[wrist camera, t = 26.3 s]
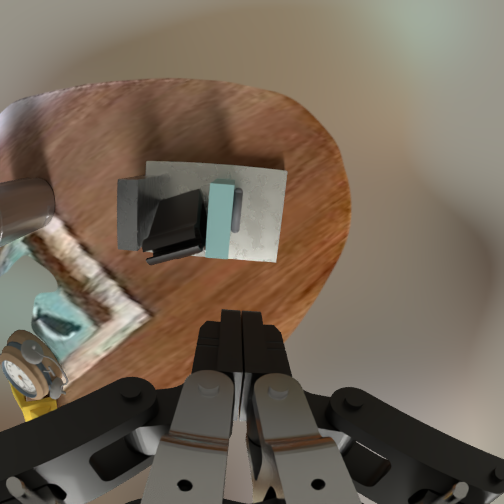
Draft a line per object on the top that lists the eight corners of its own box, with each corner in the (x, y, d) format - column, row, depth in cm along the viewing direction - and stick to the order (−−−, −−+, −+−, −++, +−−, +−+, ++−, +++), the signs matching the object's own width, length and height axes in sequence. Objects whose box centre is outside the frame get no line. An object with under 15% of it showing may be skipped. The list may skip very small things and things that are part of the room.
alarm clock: (-16, 349, 38) (33, 348, 37) (3, 331, 46) (55, 324, 46) (20, 403, 43) (76, 411, 42) (34, 382, 52) (90, 384, 51)
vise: (274, 257, 44) (287, 291, 32) (147, 247, 42) (119, 277, 31) (284, 170, 40) (304, 173, 28) (150, 161, 38) (118, 161, 27)
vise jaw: (238, 236, 40) (239, 260, 30) (212, 234, 40) (205, 257, 30) (243, 180, 38) (246, 186, 28) (217, 178, 37) (210, 183, 28)
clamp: (37, 357, 59) (3, 362, 49) (71, 425, 48) (31, 436, 37) (40, 384, 63) (10, 389, 52) (73, 446, 51) (39, 456, 41)
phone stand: (160, 200, 38) (130, 215, 27) (200, 188, 38) (184, 199, 26) (178, 257, 41) (158, 293, 29) (216, 248, 41) (209, 281, 29)
